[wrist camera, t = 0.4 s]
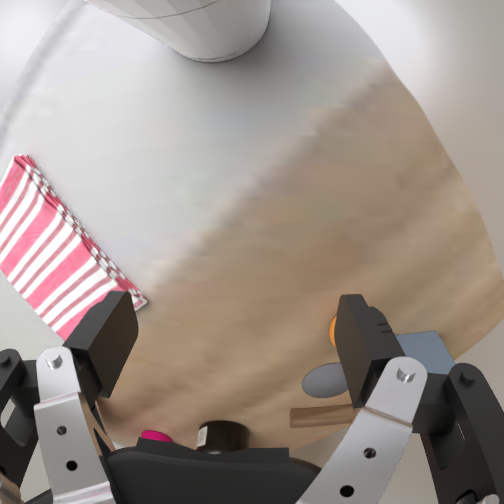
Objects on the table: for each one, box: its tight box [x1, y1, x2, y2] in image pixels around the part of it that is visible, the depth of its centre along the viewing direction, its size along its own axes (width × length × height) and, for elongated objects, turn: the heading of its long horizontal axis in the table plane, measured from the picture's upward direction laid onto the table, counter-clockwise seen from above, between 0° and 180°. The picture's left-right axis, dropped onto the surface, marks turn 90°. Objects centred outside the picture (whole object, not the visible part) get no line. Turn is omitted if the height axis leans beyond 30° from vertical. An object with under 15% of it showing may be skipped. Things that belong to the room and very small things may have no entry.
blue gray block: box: [395, 331, 456, 375], centre depth 32 cm, size 7×7×9 cm
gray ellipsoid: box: [302, 363, 349, 398], centre depth 39 cm, size 8×8×1 cm
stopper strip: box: [290, 404, 355, 428], centre depth 41 cm, size 2×10×2 cm, turn 90°
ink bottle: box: [196, 421, 249, 454], centre depth 41 cm, size 10×9×12 cm
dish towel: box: [0, 154, 147, 341], centre depth 30 cm, size 17×23×4 cm
